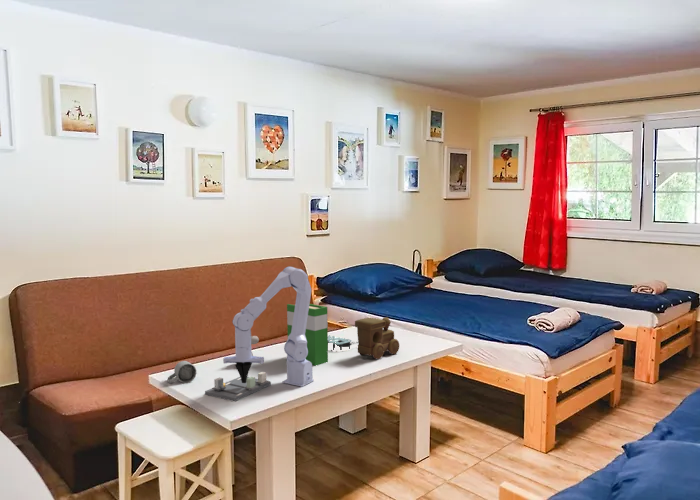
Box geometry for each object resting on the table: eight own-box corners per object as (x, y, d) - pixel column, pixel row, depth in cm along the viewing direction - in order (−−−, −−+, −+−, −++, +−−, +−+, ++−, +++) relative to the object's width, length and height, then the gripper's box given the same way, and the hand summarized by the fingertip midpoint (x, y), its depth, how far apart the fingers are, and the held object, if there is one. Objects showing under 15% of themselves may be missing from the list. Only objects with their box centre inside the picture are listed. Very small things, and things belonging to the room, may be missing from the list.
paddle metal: (225, 388, 201) (225, 378, 201) (219, 391, 199) (219, 380, 198) (218, 386, 203) (218, 376, 203) (212, 389, 200) (211, 379, 200)
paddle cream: (268, 382, 208) (268, 372, 207) (263, 384, 205) (263, 374, 205) (261, 380, 210) (261, 371, 209) (255, 383, 207) (255, 373, 207)
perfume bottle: (231, 365, 235) (231, 337, 234) (250, 360, 242) (249, 333, 241) (242, 368, 230) (241, 340, 229) (261, 363, 237) (260, 335, 236)
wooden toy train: (372, 362, 238) (371, 324, 236) (353, 357, 246) (352, 320, 244) (402, 352, 252) (402, 316, 250) (383, 348, 260) (383, 313, 258)
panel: (270, 384, 210) (270, 378, 210) (234, 401, 193) (234, 395, 193) (242, 378, 217) (242, 373, 217) (205, 394, 200) (204, 388, 200)
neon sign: (380, 333, 273) (338, 345, 251) (380, 342, 273) (338, 354, 252) (349, 326, 287) (306, 337, 266) (349, 334, 288) (307, 346, 266)
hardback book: (287, 357, 245) (287, 304, 243) (300, 354, 251) (299, 301, 248) (315, 365, 233) (314, 309, 231) (327, 362, 238) (327, 307, 236)
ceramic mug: (191, 375, 221) (190, 357, 221) (197, 381, 215) (196, 362, 214) (165, 380, 216) (164, 362, 215) (170, 386, 209) (169, 367, 209)
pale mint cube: (257, 387, 202) (257, 377, 202) (252, 390, 199) (251, 380, 199) (250, 385, 204) (250, 375, 204) (244, 388, 201) (244, 378, 201)
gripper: (265, 342, 206) (266, 378, 207) (226, 342, 206) (227, 378, 207) (261, 348, 199) (262, 385, 200) (221, 348, 199) (222, 384, 200)
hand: (244, 382), depth 203 cm, fingers closed
